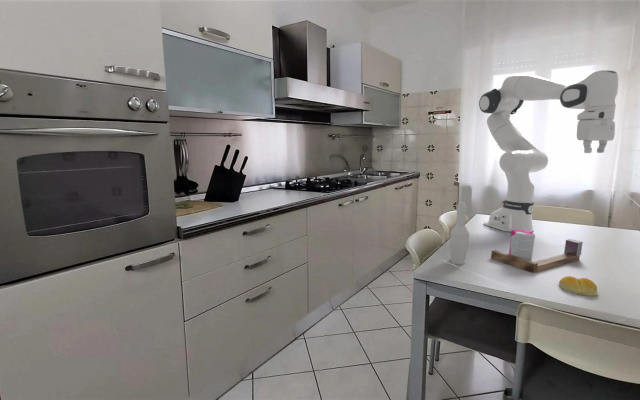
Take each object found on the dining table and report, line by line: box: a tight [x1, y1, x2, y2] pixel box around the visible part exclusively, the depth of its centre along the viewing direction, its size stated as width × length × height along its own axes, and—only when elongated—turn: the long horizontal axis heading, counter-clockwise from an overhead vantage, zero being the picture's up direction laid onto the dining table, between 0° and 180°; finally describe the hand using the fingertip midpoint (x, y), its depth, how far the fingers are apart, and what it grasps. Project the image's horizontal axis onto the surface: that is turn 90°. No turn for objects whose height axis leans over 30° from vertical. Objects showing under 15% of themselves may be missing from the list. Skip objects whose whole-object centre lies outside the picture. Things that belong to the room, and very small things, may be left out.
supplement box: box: [508, 230, 536, 261], centre depth 120 cm, size 6×6×12 cm
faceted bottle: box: [449, 201, 470, 265], centre depth 119 cm, size 6×6×22 cm
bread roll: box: [558, 276, 598, 297], centre depth 98 cm, size 8×9×4 cm
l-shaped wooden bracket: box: [490, 238, 583, 273], centre depth 123 cm, size 16×28×7 cm, turn 117°
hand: (594, 152), depth 127 cm, fingers open, 8 cm apart
